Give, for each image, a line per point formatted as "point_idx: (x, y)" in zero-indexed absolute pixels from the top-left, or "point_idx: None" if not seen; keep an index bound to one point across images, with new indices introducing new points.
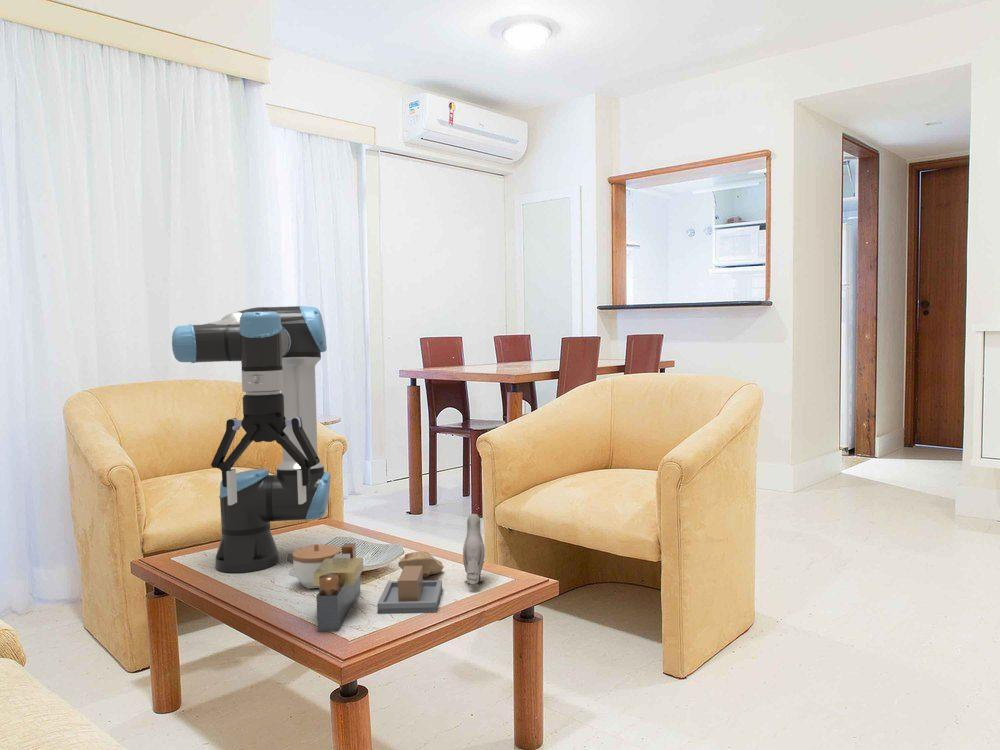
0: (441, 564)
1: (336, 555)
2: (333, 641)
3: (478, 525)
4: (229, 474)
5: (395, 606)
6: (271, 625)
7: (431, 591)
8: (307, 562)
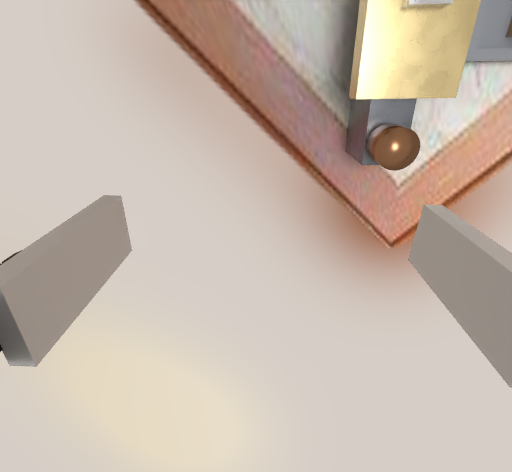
0: None
1: None
2: (373, 188)
3: None
4: (44, 350)
5: (497, 60)
6: (261, 118)
7: None
8: None
